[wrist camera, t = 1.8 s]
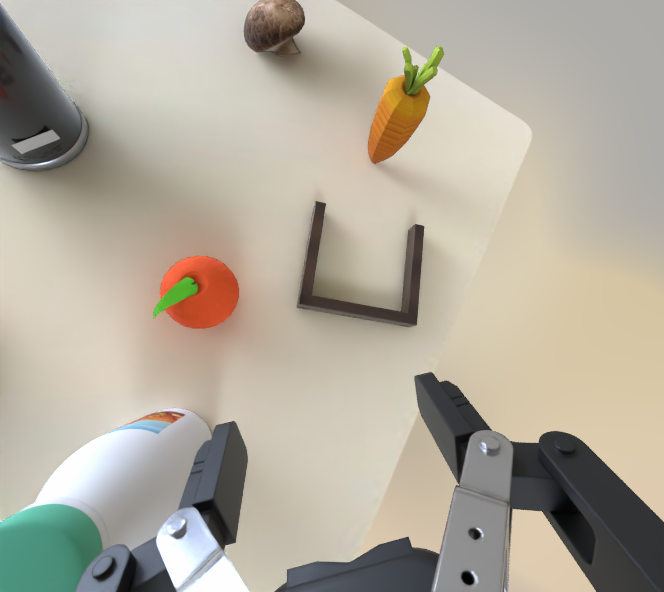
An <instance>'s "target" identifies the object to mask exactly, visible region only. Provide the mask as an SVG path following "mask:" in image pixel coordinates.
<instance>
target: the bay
mask: <svg viewBox="0 0 664 592" xmlns="http://www.w3.org/2000/svg"><path fill="white" fill-rule="evenodd" d="M325 207H326V203H322V202H317V201H316V202H315V206H314V209H313V215H312V221H311V227H310V233H309V239H308V244H307V250H306V256H305V262H304V268H303V274H302V280H301V286H300V292H299V298H298V304H297V308H303V309H309V310H314V311H320V312H326V313H331V314H337V315H343V316H349V317H354V318H360V319H366V320H372V321H377V322H383V323H389V324H394V325H400V326H406V327H411V326H415V325H417V315H418V302H419V289H420V276H421V263H422V250H423V236H424V226H422V225H418V224H415V225H414V226H413V227H412V228H411V229H410V230H409V231H408V241H407V252H406V264H405V275H404V286H403V298H402V309H401V312H399V311H394V310H388V309H383V308H377V307H372V306H366V305H361V304H355V303H350V302H344V301H339V300H333V299H328V298H322V297H317V296H311V295H312V288H313V282H314V276H315V270H316V263H317V257H318V251H319V244H320V238H321V232H322V226H323V219H324V213H325Z"/></svg>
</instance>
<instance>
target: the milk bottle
mask: <svg viewBox="0 0 664 592" xmlns="http://www.w3.org/2000/svg"><path fill="white" fill-rule="evenodd" d="M211 439H212V435H211V432H210V430H209V428H208V426H207V424H206V423H205V422H204V421H203V419H202V418H200V417H199V416H198V415H197V414H195V413H193V412H191V411H188V410H185V409H179V408H171V409H165V410H161V411H158V412H155V413H152V414H150V415H148V416H145V417H143V418H140V419H138V420H136V421H133V422H131V423H129V424H126V425H124V426H122V427H120V428H117V429H115V430H113V431H111V432H108V433H106V434H104V435H103V436H101V437H99V438H97V439H95V440H93V441H91V442H90V443H88V444H86V445H85V446H83V447H82V448H81V449H79V450H78V451H76V452H75V453H74V454H73V455H71V456H70V457H69V458H68V459H67V460H66V461H65V462H64V463H63V464H62V465H61V466H60V467H59V468H58V469H57V470H56V471H55V472H54V473H53V475H52V476H51V477H50V478H49V480H48V481H47V482H46V484H45V485H44V487H43V488H42V490H41V492H40V494H39V496H38V498H37V499H36V501H35V503H34V504H32V505H29V506H27V507H26V508H24V509H22V510H21V511H19V512H18V513H16V514H14V515H12V516H11V517H9V518H7V519H5V520H3V521H2V522H0V592H74V591H75V589H76V587H77V585H78V583H79V581H80V578H81V576H82V574H83V573H84V571H85V569H86V568H87V567H88V565H89V564H90V563H91V562H92V561H93V560H94V558H96V557H97V556H98V555H99V554H100V553H101V552H103V551H104V550H106V549H107V548H109V547H111V546H114V545H117V544H124V545H126V546H127V547H128V548H129V550H130V551H131V550H133V549H135V548H136V547H138V546H140V545H142V544H144V543H145V542H147V541H149V540H151V539H152V538H154V537H155V536H157V534H158V531H159V529H160V527H161V526H162V524H163V523H164V522H165V521H166V519H167V518H168V517H169V516H171V515H172V514H173V513H175V512H176V511H177V510H178V507H179V504H180V501H181V498H182V495H183V492H184V489H185V486H186V483H187V480H188V477H189V475H190V471H191V468H192V466H193V462H194V459H195V456H196V453H197V451H198V450H199V449H200V447H201V446H202V445H203V443H204V442H205V441H207V440H211Z"/></svg>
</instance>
